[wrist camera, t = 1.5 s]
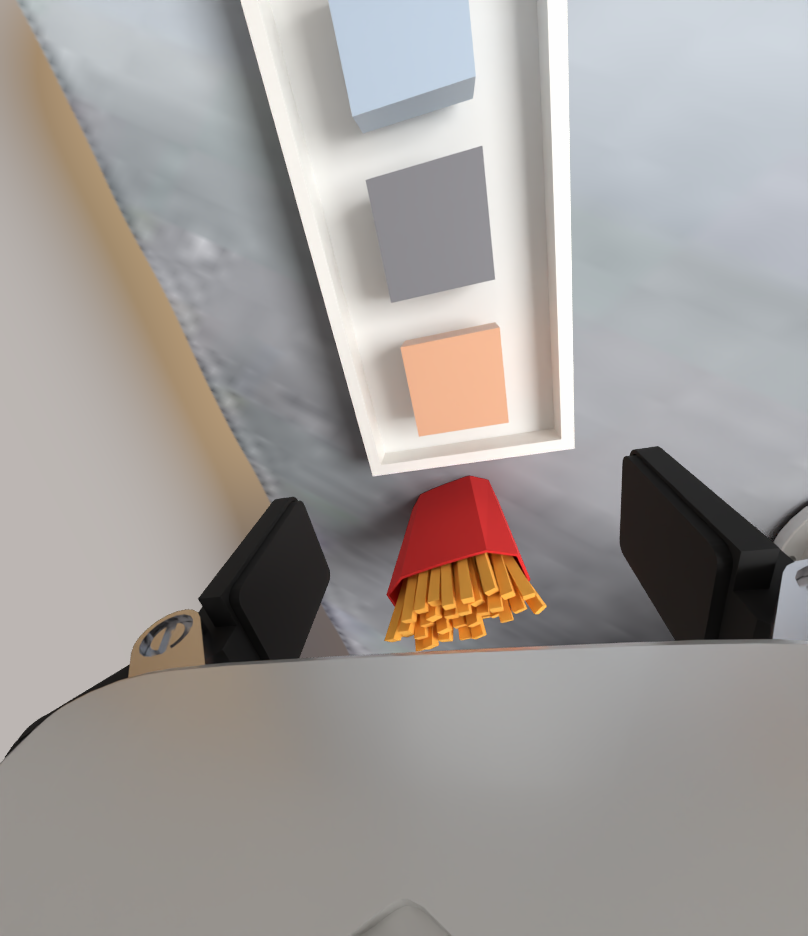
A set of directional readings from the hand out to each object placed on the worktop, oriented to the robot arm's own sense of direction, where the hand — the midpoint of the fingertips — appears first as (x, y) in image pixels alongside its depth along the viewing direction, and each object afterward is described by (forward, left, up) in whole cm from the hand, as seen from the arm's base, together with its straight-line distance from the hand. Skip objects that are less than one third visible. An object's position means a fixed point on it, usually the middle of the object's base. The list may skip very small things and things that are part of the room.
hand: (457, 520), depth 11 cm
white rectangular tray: (0, -8, -18) cm, 20 cm away
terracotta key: (0, 0, -16) cm, 16 cm away
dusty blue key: (0, -16, -16) cm, 23 cm away
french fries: (+1, +11, -18) cm, 21 cm away
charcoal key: (0, -8, -16) cm, 18 cm away
